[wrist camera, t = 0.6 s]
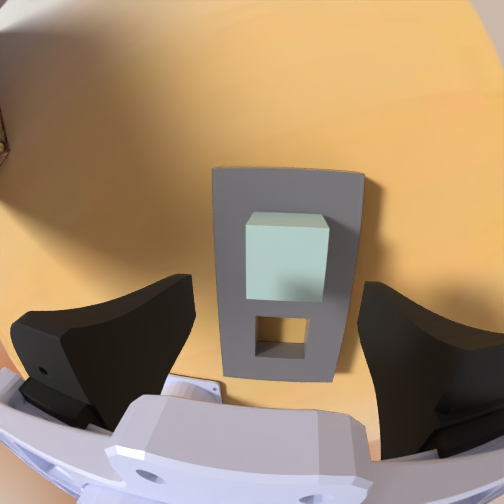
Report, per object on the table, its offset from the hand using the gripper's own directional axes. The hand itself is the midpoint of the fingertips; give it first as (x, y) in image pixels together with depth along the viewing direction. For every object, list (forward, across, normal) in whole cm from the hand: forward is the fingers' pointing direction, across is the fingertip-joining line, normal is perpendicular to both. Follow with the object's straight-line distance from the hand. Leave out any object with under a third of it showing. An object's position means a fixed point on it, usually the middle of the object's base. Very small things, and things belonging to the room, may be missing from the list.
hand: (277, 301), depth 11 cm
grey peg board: (+10, 0, +4) cm, 11 cm away
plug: (+10, 0, 0) cm, 10 cm away
